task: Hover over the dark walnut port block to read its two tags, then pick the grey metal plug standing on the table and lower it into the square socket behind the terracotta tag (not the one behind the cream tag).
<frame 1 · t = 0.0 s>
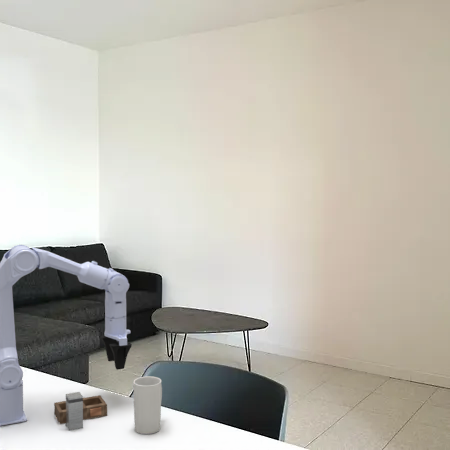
hand: (115, 364, 156), 10 cm above the table, fingers open, 7 cm apart
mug: (151, 427, 140), on the table
plug: (74, 426, 139), on the table
port block: (80, 414, 146), on the table
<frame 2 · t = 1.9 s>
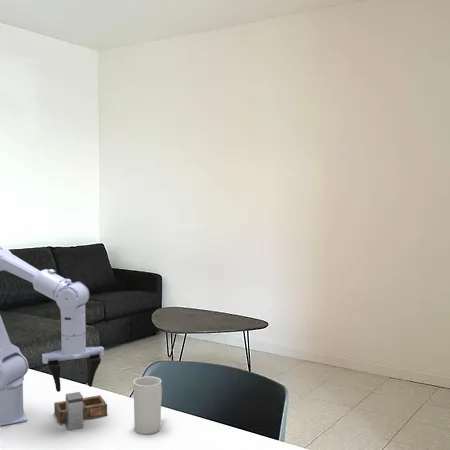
hand: (74, 387, 139), 10 cm above the table, fingers open, 7 cm apart
nothing on the table moved.
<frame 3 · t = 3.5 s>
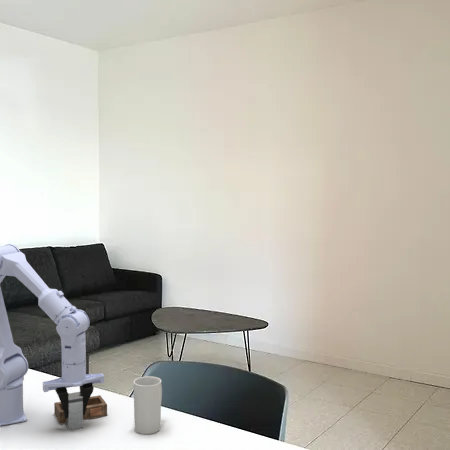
hand: (74, 415, 139), 3 cm above the table, fingers closed on plug, 3 cm apart
plug: (74, 426, 139), on the table, touching gripper
everything else where it was.
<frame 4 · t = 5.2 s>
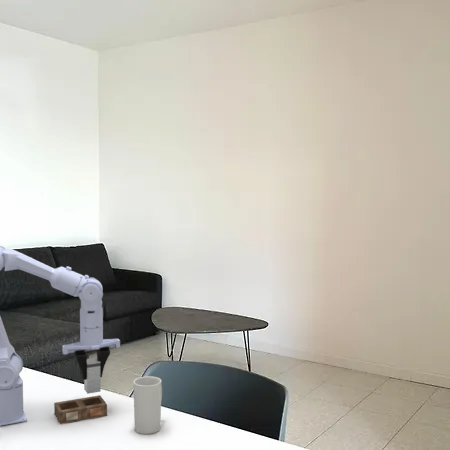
hand: (92, 377, 147), 9 cm above the table, fingers closed on plug, 3 cm apart
plug: (92, 390, 147), point 6 cm above the table, touching gripper
everything else where it was.
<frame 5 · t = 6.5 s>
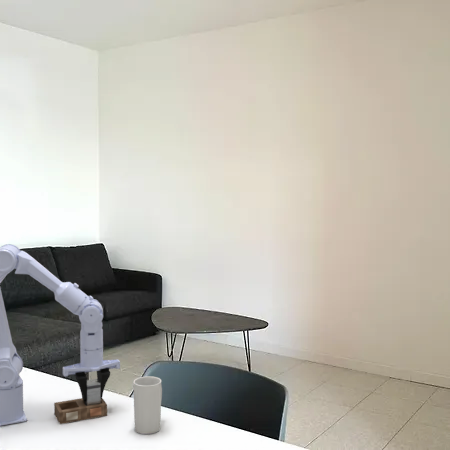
hand: (92, 398, 148), 4 cm above the table, fingers closed on plug, 3 cm apart
plug: (92, 411, 148), resting on port block, touching gripper
everything else where it was.
when the fingers open (4 cm above the table, at t = 7.1 s): plug stays where it is, resting on port block.
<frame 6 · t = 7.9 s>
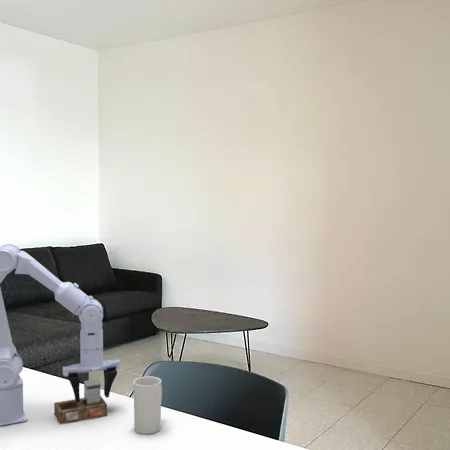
hand: (92, 398, 148), 4 cm above the table, fingers open, 7 cm apart
plug: (92, 411, 148), resting on port block
everything else where it was.
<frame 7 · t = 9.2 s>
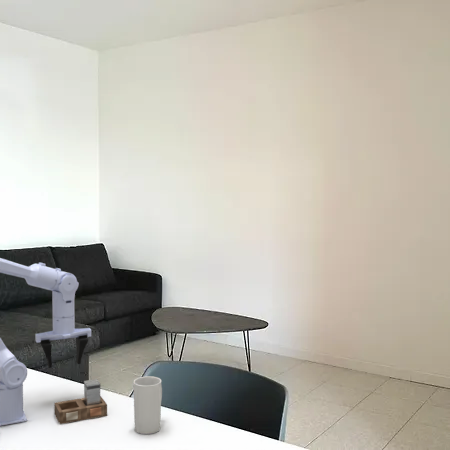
hand: (64, 364, 154), 10 cm above the table, fingers open, 7 cm apart
nothing on the table moved.
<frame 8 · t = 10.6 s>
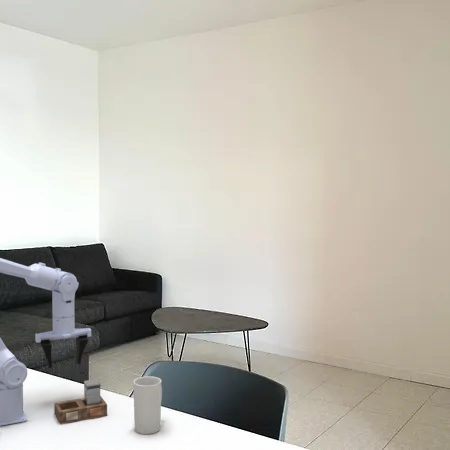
hand: (64, 364, 154), 10 cm above the table, fingers open, 7 cm apart
nothing on the table moved.
at the end: plug 0.2 cm from the target spot on the port block, point 0.3 cm above the port block's base; plug tilted 0°; the gripper is holding nothing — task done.
